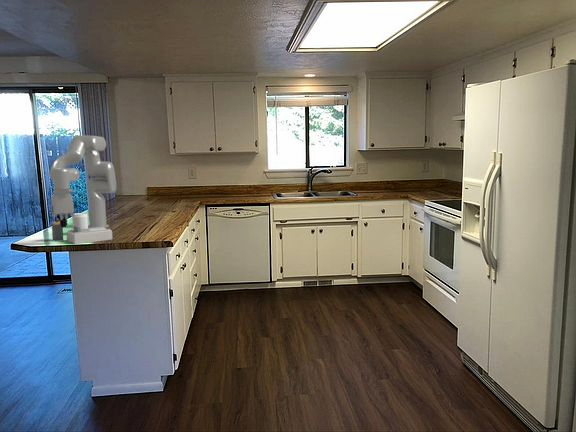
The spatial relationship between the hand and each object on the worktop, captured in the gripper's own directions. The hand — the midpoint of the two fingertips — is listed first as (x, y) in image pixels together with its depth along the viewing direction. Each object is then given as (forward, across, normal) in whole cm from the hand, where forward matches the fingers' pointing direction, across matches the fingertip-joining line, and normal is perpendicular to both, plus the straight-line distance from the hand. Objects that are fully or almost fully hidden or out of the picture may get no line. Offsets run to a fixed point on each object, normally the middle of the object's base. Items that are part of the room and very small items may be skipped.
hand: (63, 227), depth 239 cm
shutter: (+4, -9, 0) cm, 10 cm away
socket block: (+9, -13, 0) cm, 16 cm away
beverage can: (+8, -16, -22) cm, 29 cm away
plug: (+9, 0, -11) cm, 14 cm away
